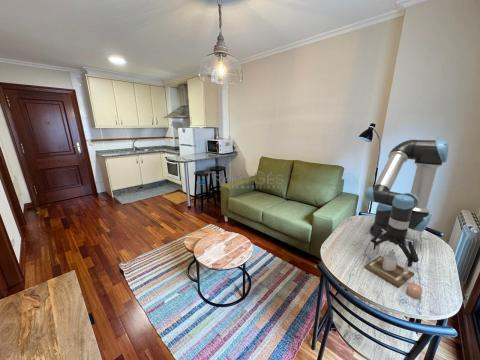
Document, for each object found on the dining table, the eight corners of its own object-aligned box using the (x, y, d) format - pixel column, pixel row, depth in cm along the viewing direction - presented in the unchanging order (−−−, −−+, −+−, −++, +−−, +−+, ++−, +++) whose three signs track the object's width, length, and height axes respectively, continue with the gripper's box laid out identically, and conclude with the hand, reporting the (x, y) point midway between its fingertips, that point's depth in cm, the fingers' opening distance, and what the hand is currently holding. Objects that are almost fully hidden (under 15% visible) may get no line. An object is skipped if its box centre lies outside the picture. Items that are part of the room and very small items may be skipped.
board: (379, 257, 113) (380, 253, 113) (414, 275, 100) (415, 271, 99) (363, 267, 106) (364, 263, 106) (398, 288, 93) (399, 284, 92)
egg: (409, 288, 93) (410, 281, 92) (422, 295, 88) (424, 288, 87) (403, 292, 90) (405, 285, 89) (417, 300, 86) (419, 293, 85)
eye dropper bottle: (395, 273, 100) (400, 253, 96) (382, 270, 102) (386, 250, 99) (394, 268, 103) (399, 248, 100) (381, 264, 106) (385, 245, 103)
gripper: (367, 218, 104) (361, 252, 110) (427, 241, 83) (416, 281, 89) (374, 214, 108) (369, 247, 114) (434, 235, 87) (423, 275, 93)
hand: (389, 262), depth 102 cm, fingers open, 13 cm apart
